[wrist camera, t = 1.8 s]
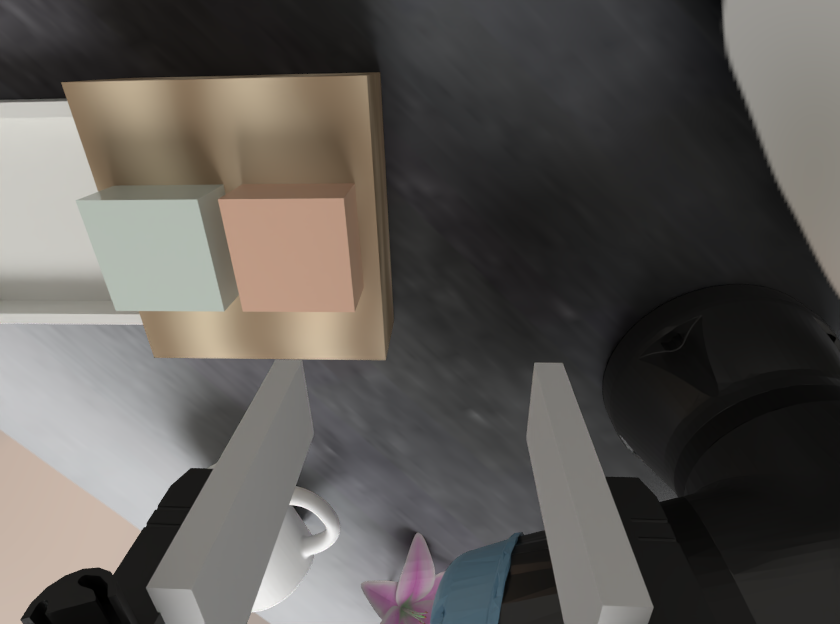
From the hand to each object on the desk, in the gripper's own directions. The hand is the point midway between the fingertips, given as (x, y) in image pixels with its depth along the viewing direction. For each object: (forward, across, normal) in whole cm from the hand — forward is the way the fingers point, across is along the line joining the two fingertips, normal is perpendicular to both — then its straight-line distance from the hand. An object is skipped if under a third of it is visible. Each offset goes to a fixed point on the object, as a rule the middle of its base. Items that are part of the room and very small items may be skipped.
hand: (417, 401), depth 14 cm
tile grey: (+14, +14, 0) cm, 20 cm away
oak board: (+19, +10, 0) cm, 22 cm away
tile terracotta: (+14, +7, 0) cm, 16 cm away
